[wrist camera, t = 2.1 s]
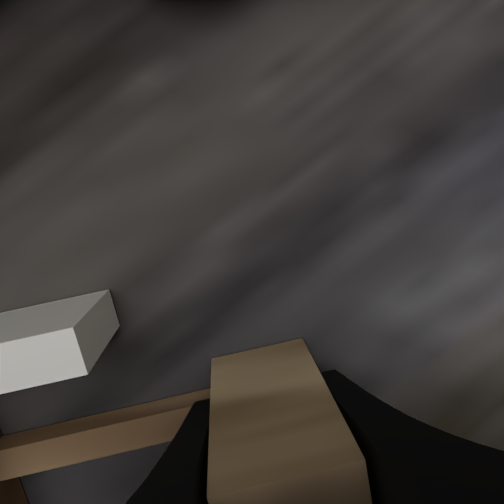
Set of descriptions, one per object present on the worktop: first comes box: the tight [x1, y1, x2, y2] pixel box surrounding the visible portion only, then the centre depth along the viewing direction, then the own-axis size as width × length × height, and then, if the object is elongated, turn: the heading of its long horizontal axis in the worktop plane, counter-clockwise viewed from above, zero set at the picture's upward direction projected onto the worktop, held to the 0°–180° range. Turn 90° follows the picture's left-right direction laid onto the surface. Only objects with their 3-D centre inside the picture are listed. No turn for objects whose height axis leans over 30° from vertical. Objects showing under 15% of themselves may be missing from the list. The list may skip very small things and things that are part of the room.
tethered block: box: [0, 338, 372, 504], centre depth 10 cm, size 5×15×6 cm, turn 101°
